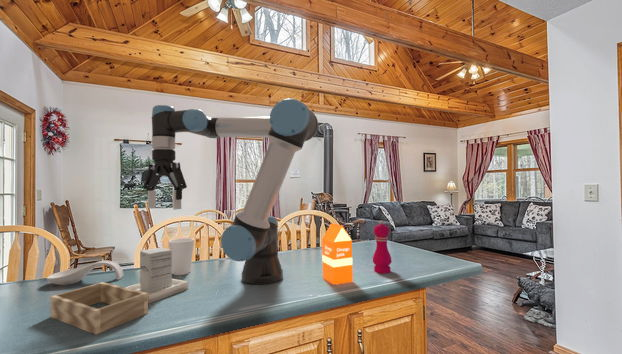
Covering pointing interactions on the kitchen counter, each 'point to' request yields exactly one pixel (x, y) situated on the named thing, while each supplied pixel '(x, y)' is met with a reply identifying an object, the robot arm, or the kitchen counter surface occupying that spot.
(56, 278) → the spoon rest
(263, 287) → the kitchen counter surface
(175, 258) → the foam cup
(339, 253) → the orange juice
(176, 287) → the tray
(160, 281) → the supplement box
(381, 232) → the pepper mill
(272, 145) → the robot arm
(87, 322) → the crate
